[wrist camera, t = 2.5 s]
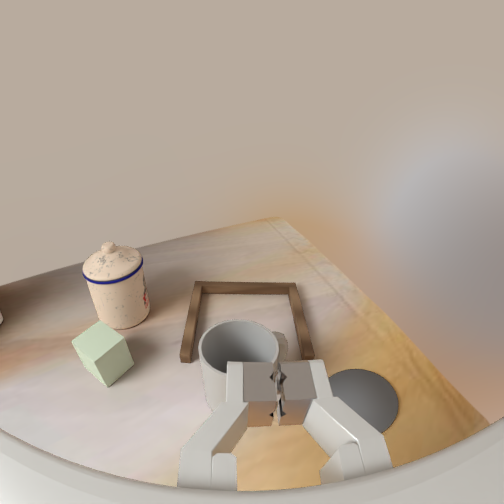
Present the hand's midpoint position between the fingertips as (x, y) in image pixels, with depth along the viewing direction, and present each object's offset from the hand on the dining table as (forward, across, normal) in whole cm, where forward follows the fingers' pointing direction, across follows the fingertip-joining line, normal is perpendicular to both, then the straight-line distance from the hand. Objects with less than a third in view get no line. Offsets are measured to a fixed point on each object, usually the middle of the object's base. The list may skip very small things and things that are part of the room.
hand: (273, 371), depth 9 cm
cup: (+12, 0, +20) cm, 24 cm away
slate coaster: (+9, -13, +20) cm, 26 cm away
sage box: (+14, +18, +20) cm, 30 cm away
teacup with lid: (+26, +20, +20) cm, 39 cm away
